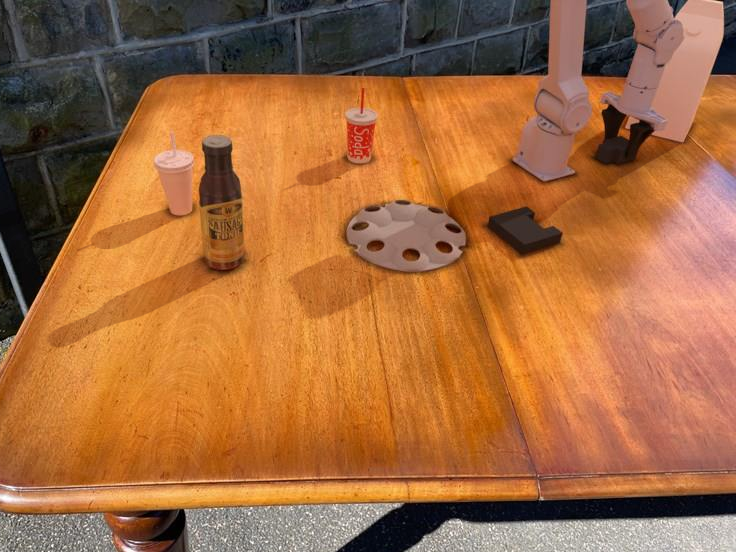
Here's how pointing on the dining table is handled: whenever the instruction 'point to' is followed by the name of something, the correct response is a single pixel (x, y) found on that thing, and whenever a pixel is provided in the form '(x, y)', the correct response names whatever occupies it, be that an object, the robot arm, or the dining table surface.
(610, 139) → the black notched block
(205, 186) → the sauce bottle
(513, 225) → the black pad
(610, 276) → the dining table surface
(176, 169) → the smoothie
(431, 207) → the paint palette
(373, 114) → the beverage cup
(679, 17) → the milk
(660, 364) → the dining table surface
